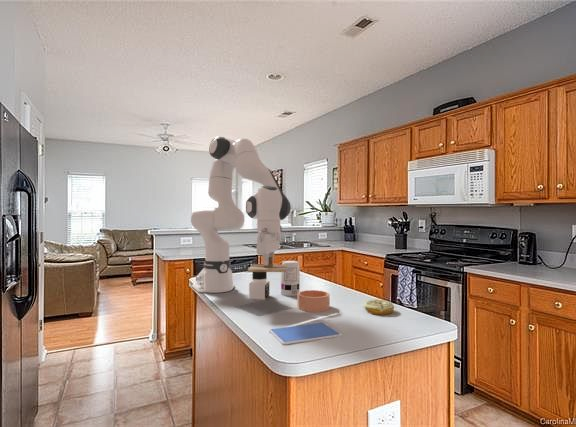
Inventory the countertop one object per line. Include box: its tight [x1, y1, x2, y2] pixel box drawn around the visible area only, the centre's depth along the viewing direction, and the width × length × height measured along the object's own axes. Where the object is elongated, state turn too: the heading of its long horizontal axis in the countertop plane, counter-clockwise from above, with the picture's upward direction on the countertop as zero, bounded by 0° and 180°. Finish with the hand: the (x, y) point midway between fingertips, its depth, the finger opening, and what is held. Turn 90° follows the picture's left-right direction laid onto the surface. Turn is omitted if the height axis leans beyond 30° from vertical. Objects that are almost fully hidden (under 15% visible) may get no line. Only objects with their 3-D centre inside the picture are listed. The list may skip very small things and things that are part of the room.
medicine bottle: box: [248, 272, 270, 301], centre depth 151 cm, size 7×7×12 cm
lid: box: [247, 256, 287, 273], centre depth 135 cm, size 14×14×4 cm
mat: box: [234, 299, 293, 317], centre depth 135 cm, size 16×16×1 cm
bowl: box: [296, 289, 331, 313], centre depth 135 cm, size 12×12×6 cm
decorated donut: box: [363, 298, 395, 316], centre depth 132 cm, size 10×11×4 cm
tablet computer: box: [269, 322, 342, 346], centre depth 108 cm, size 19×13×1 cm, turn 113°
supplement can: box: [280, 260, 301, 297], centre depth 157 cm, size 8×8×15 cm
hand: (268, 264), depth 135 cm, fingers closed on lid, 4 cm apart
